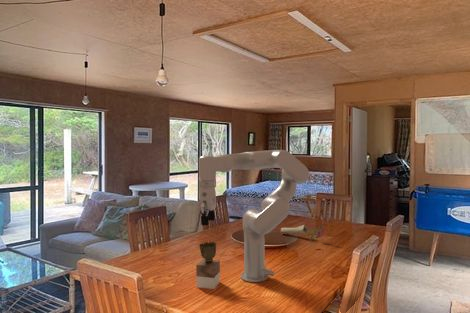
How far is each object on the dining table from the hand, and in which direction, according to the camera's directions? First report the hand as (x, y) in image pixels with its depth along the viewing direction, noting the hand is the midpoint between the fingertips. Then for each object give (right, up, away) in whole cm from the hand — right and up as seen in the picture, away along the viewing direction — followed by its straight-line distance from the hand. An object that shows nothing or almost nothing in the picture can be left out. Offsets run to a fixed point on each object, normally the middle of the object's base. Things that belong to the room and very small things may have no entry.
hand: (208, 222), depth 152 cm
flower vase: (+57, -26, +76) cm, 99 cm away
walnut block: (0, -23, 0) cm, 23 cm away
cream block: (0, -28, 0) cm, 28 cm away
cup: (0, -18, +1) cm, 18 cm away
